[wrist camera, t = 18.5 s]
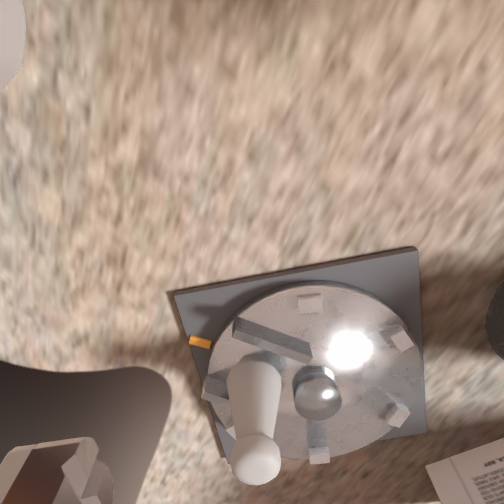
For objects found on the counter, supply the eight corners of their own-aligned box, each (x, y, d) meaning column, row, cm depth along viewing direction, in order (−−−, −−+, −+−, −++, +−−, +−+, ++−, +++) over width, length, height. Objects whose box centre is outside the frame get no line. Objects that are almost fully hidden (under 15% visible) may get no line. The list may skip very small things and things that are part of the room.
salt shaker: (289, 375, 47) (304, 481, 35) (245, 396, 48) (245, 506, 36) (262, 338, 45) (268, 437, 33) (217, 361, 46) (206, 465, 34)
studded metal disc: (259, 247, 42) (261, 269, 38) (456, 326, 47) (479, 354, 42) (179, 412, 51) (173, 446, 47) (351, 466, 55) (360, 502, 51)
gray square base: (414, 246, 44) (419, 251, 43) (423, 426, 54) (427, 434, 53) (175, 291, 46) (173, 297, 45) (228, 457, 56) (228, 466, 55)
